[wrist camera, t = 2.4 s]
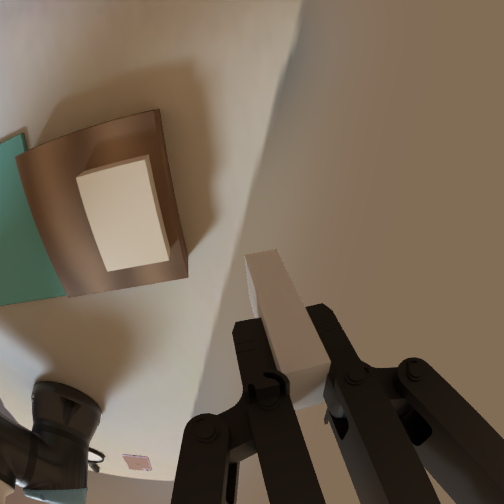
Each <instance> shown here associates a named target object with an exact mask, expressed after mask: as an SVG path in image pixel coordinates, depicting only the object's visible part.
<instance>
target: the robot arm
mask: <svg viewBox="0 0 504 504" xmlns="http://www.w3.org/2000/svg"><path fill="white" fill-rule="evenodd" d="M244 256H245V264H246V272H247V280H248V288H249V296H250V302H251V306H252V309H253V313H254V316H255V319H249V320H244V321H239V322H236V323H235V326H234V329H233V332H232V334H233V340H234V345H235V350H236V355H237V360H238V365H239V370H240V375H241V380H242V385H243V393H242V397H241V398H240V400H239V402H238V403H237V404H236V405H235V406H234V407H232V408H230V409H229V410H227V411H225V412H223V413H221V414H218V415H214V414H210V413H207V414H200V415H197V416H195V417H193V418H192V419H191V420H190V421H189V422H188V423H187V425H186V427H185V429H184V434H183V439H182V444H181V449H180V455H179V460H178V465H177V471H176V476H175V482H174V488H173V493H172V499H171V504H236V500H237V499H236V498H237V487H238V476H239V465H240V461H242V460H243V459H245V458H248V457H249V456H251V455H253V454H255V453H258V457H259V461H260V466H261V469H262V474H263V478H264V482H265V486H266V490H267V494H268V498H269V502H270V504H326V503H325V500H324V497H323V494H322V491H321V488H320V485H319V483H318V480H317V476H316V473H315V471H314V467H313V464H312V462H311V459H310V455H309V452H308V449H307V447H306V443H305V441H304V437H303V435H302V431H301V429H300V425H299V422H298V419H297V416H296V414H295V410H299V409H303V408H306V407H310V406H314V405H317V404H320V403H322V401H323V397H324V399H325V402H326V404H327V407H328V408H327V411H326V414H325V418H324V422H325V424H327V423H328V421H329V422H330V425H331V428H332V430H333V433H334V435H335V438H336V440H337V443H338V446H339V448H340V451H341V454H342V456H343V459H344V461H345V464H346V467H347V469H348V472H349V474H350V477H351V480H352V482H353V485H354V488H355V490H356V493H357V495H358V498H359V501H360V503H361V504H440V501H439V499H438V497H437V495H436V492H435V490H434V488H433V486H432V484H431V482H430V479H429V477H428V475H427V473H426V471H425V469H426V470H427V471H428V472H429V473H430V474H431V475H432V477H433V478H434V479H435V480H436V481H437V482H438V483H439V484H440V486H441V487H442V488H443V489H444V490H445V491H446V492H447V493H448V495H449V496H450V497H451V498H452V499H453V500H454V502H455V503H456V504H504V439H503V438H502V437H501V436H500V435H499V434H498V433H497V432H496V431H495V430H494V429H493V428H492V427H491V426H490V425H489V424H488V423H487V421H486V420H484V418H483V417H482V416H481V415H480V414H479V413H478V412H477V411H476V410H475V409H474V408H473V407H472V406H471V405H470V404H469V403H468V402H467V401H466V400H465V399H464V398H463V397H462V396H461V395H460V394H459V393H458V392H457V391H456V390H455V389H454V388H453V387H452V386H451V385H450V384H449V383H448V382H447V381H446V380H445V379H443V378H442V377H441V376H440V375H439V374H438V373H437V372H436V371H435V370H434V369H433V368H432V367H431V366H430V365H429V364H428V363H427V362H425V361H424V360H422V359H419V358H407V359H405V360H403V361H402V362H401V363H400V365H399V366H398V367H395V368H374V367H371V366H370V365H368V364H366V363H365V362H362V361H361V360H360V358H359V357H358V355H357V354H356V352H355V350H354V348H353V346H352V345H351V343H350V341H349V339H348V338H347V336H346V334H345V332H344V330H342V327H341V325H340V323H339V322H338V320H337V318H336V316H335V314H334V313H333V311H332V310H331V309H330V308H328V307H327V306H326V305H324V304H323V303H322V304H317V305H313V306H308V307H305V306H304V304H303V302H302V300H301V298H300V296H299V294H298V292H297V290H296V288H295V286H294V284H293V282H292V280H291V278H290V276H289V274H288V272H287V270H286V268H285V266H284V264H283V262H282V260H281V258H280V255H279V253H278V252H277V249H275V250H270V251H265V252H259V253H252V254H247V255H244ZM31 401H32V414H33V428H32V431H30V430H28V429H27V428H25V427H23V426H21V425H20V424H18V423H16V422H15V421H13V420H11V419H10V418H8V417H7V416H5V415H4V414H2V413H1V412H0V504H5V497H6V496H7V495H9V494H11V493H13V492H14V490H15V484H16V485H19V486H21V487H23V492H24V495H25V496H27V497H30V498H33V499H36V500H39V501H43V502H47V503H51V504H86V496H87V490H88V488H87V471H88V452H89V443H90V441H91V439H92V437H93V435H94V433H95V430H96V428H97V426H98V425H99V423H100V417H101V410H100V408H99V406H98V405H97V404H96V403H95V402H94V401H93V400H92V399H91V398H89V397H88V396H86V395H85V394H83V393H81V392H80V391H78V390H75V389H73V388H71V387H68V386H65V385H62V384H59V383H54V382H39V383H37V384H35V385H34V387H33V391H32V395H31ZM423 466H424V467H425V469H424V467H423Z"/></svg>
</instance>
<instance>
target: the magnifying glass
mask: <svg viewBox="0 0 504 504" xmlns="http://www.w3.org/2000/svg"><path fill="white" fill-rule="evenodd" d="M103 461H104V456H103V455H102V454H101V453H99V452H98V451H96V450H93V449H91V448H89V452H88V464H89V466H90V467H91V468H92V469H93V470H94V472H99V468H98V467H97V466H96V464H95V463H100V462H103Z"/></svg>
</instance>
